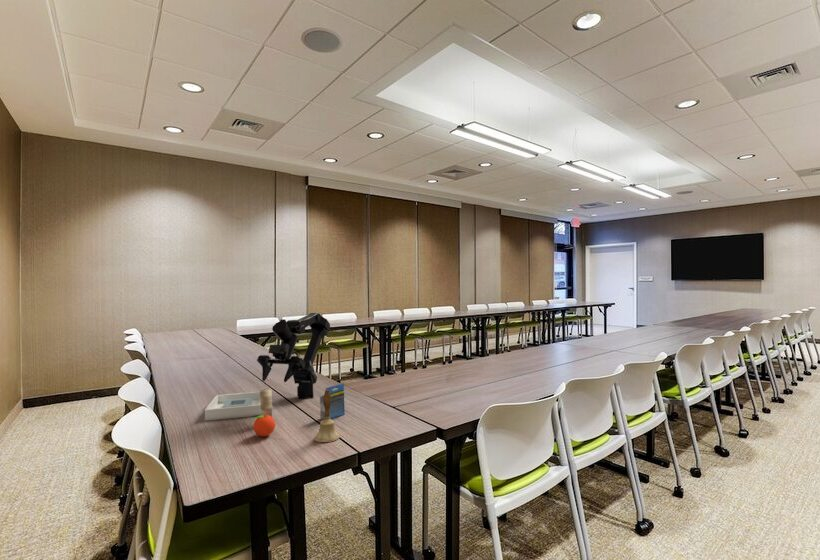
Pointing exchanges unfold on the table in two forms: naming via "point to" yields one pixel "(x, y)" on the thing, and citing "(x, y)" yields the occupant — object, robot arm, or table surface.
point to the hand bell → (327, 423)
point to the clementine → (264, 425)
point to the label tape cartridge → (334, 402)
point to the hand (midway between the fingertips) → (273, 381)
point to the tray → (233, 411)
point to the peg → (266, 402)
